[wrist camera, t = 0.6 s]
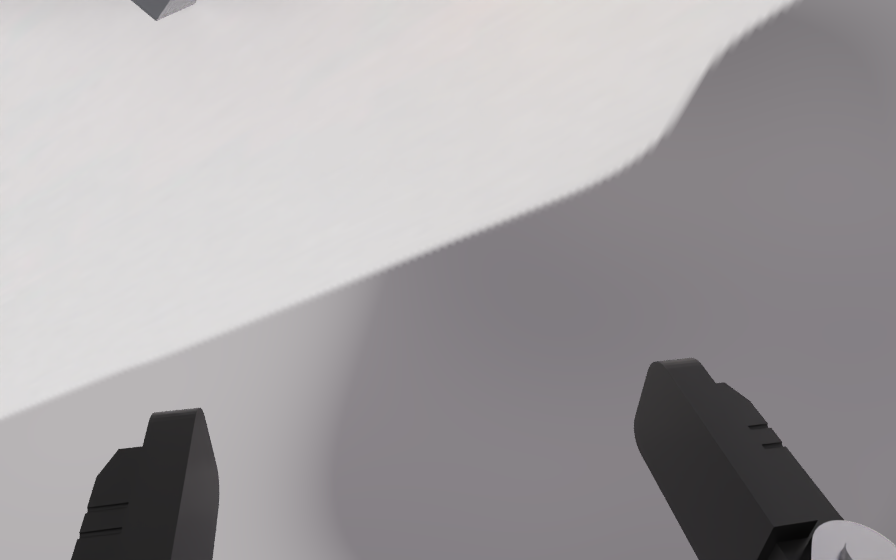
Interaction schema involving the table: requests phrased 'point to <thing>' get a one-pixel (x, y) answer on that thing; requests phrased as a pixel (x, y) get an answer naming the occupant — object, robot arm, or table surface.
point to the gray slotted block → (162, 7)
